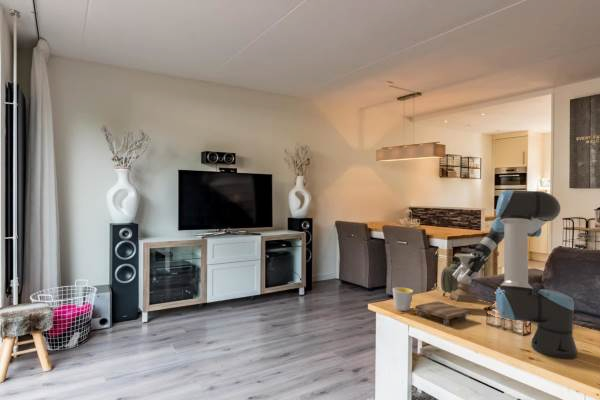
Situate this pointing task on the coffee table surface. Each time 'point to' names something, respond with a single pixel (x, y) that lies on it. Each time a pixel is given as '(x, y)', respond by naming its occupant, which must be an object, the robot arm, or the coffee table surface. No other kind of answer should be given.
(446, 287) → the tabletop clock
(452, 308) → the walnut stand
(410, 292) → the mug
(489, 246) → the robot arm
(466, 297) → the candle holder
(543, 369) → the coffee table surface
